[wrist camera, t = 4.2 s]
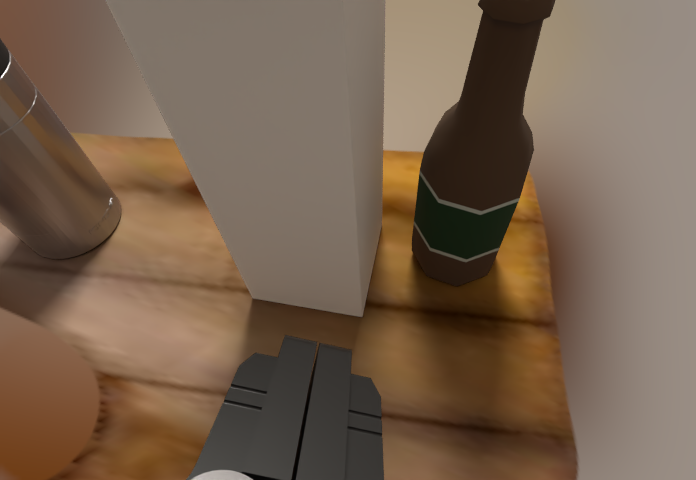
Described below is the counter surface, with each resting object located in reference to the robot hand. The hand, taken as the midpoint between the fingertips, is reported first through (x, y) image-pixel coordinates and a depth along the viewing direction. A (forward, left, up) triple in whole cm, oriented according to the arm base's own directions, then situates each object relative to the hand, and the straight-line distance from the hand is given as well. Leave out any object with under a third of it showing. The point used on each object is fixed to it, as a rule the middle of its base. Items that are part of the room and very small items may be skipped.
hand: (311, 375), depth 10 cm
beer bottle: (+5, +21, -25) cm, 33 cm away
